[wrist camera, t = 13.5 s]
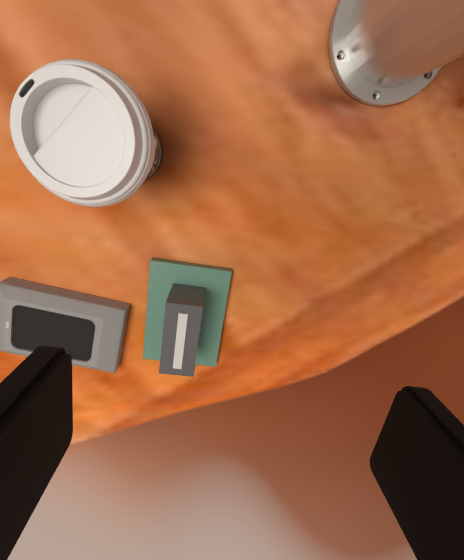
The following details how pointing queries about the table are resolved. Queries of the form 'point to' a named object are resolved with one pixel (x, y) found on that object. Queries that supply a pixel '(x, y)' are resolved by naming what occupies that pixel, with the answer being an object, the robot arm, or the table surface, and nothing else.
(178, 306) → the block
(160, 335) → the board
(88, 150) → the coffee cup
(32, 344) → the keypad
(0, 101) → the table surface
